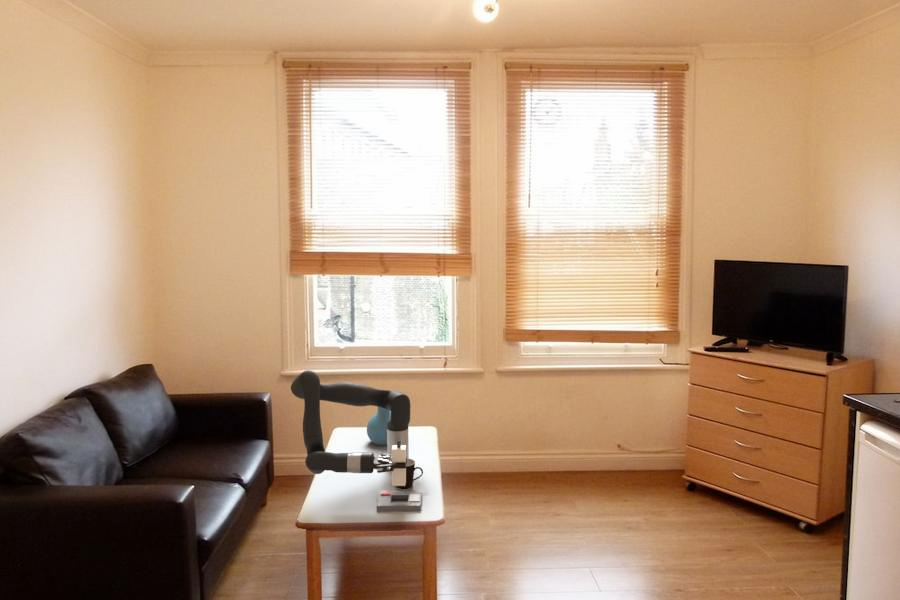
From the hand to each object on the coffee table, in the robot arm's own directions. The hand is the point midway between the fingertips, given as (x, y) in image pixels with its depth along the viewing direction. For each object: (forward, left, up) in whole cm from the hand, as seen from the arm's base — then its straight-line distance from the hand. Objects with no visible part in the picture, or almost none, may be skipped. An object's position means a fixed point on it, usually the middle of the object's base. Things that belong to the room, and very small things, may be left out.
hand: (406, 462), depth 229 cm
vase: (-69, -15, -16) cm, 72 cm away
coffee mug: (-15, -1, -16) cm, 22 cm away
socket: (0, -3, -16) cm, 16 cm away
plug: (0, -3, -8) cm, 8 cm away
